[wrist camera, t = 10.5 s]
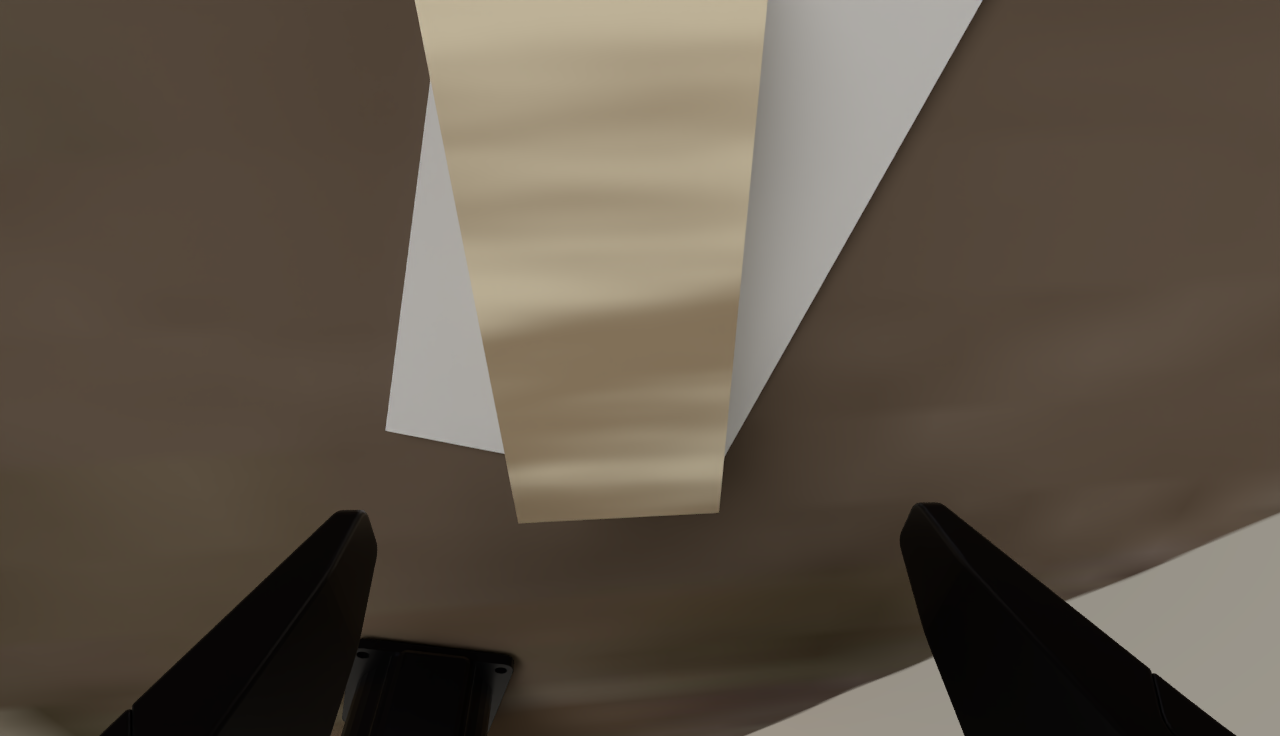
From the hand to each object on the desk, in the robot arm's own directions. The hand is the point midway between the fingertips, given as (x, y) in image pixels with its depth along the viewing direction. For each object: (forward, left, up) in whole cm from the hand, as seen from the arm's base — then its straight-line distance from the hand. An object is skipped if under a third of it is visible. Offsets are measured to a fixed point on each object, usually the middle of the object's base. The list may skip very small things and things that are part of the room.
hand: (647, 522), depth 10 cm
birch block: (-4, -1, -5) cm, 7 cm away
